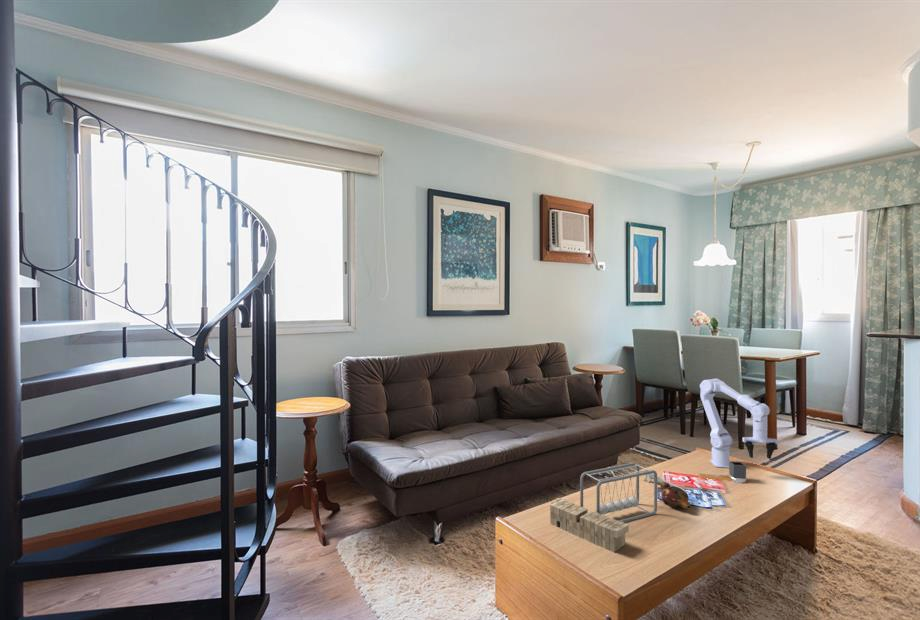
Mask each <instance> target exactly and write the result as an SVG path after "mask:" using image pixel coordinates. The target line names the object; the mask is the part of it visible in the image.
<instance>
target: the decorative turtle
mask: <svg viewBox="0 0 920 620" xmlns="http://www.w3.org/2000/svg"><path fill="white" fill-rule="evenodd" d="M659 487H660V491H661V493H660V495H661V499H662V502H663V504H665V505H667V504H668V505H669V507H670V508H671V509H672V510H673V509H676V507H677V506H678V507H679V506H680V507H681V508H683V509H684V510H690V509H691V508H692V504H691V503H690V502H689V500H690V499H689V495H688V494H687V493H686V492H685V491H683V490H682V489H683V488H682V489H680V488H681V487H680V488H678V487H679V486H678V487H675V486H670V485H669V483H667V482H662V483H661V482H660V486H659Z"/></svg>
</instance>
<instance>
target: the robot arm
mask: <svg viewBox="0 0 920 620" xmlns="http://www.w3.org/2000/svg"><path fill="white" fill-rule="evenodd" d="M699 388H700V389H699V390H700V392H699V393H700V400H701V402H702V406H703V409H704V411H705V415H706V417H707V420H708V423H709V426H710V428H711V430H710V434H709V435H710V444H711V446H712V447H711V459H709V462H710V463H711V464H712V465H713V466H714V467H715V468H727V469H728V468H729V461H731V460H730V457H731V455H730V453H731V452H730V449H731V445H732V444H733V443H734V440H733V438H732V436H731V435H730V433H729V432H728V430H727V429H726V428H724V426H723V423H722V421H721V420H722V419H721V418H720V415H719V414H720V413H719V412H718V409H717V407H716V406H717V405H716V403H715V401H714V397H715V395H716V394H717V393H718V392H719V393H720V392H721V393H723V394H725V395H727V396H729V397H731V398H732V399H734V400H735V401H737V404H738V405H739V406H740V407H743V408H744V409H746V410H747V411H748V412H750V414H751V415H752V436H746V437H744V436H743V437H742V441H741V442H743V443H744V445H745V446H746V449H747V452H748V456H749V458H750V459H753V458H754V447H755V445H754V444H753V443H758V444H759V443H761V444H765V445H766V459H769V460H771V459H772V455H773V453H774V451H775V450H776V449H777V445H778V444H779V440H778V439H777V438H769V437H768V415H770V412H771V410H770V407H769V406H768V405H767V404H766V403H761V402H760V401H758V400H755V399H754V398H752V397H751V396H750V395H749V394H741V393H740V392H738V391H736V390H735V389H733V388H732V387H730V386H729V385H728V384H726V382H724V381H723V380H720V378H716V377H715V378H712V379H704V380H702V381H701V382H700V384H699Z"/></svg>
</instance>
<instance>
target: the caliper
mask: <svg viewBox="0 0 920 620" xmlns="http://www.w3.org/2000/svg"><path fill="white" fill-rule="evenodd" d="M645 472H646V471H645ZM647 478H648V480H647ZM643 480H644V482H646V481H647V483H651V481H654V473H652V474H647V475H643ZM662 482H667V483H669V485H670V486H675V487H678V488H680V489H682V490H683V491H685V492H686V493H687V492H688V490H687V489H683V488H682V487H680V486H678V485H676V484H674V483H671V482H670V481H667V480H666V479H664V478H661V476H659V475H657V483H660V484H661V483H662Z"/></svg>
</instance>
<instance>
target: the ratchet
mask: <svg viewBox="0 0 920 620" xmlns="http://www.w3.org/2000/svg"><path fill="white" fill-rule="evenodd" d="M697 475H698V476H699V477H700V478H708V479H707V480H709V479H719V480H718V481H723V480H725V481H724V482H726V480H727V482H733V481H734V482H733V483H736V482H737V484H746V483H747V478H746V479H741V478H733V477H732V476H731V475H730V474H729V473H728V475H727V474H726V475H723V474H711V473H710V474H709V473H698V474H697ZM699 477H698V478H699ZM700 478H699V479H700ZM745 482H746V483H745Z"/></svg>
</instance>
